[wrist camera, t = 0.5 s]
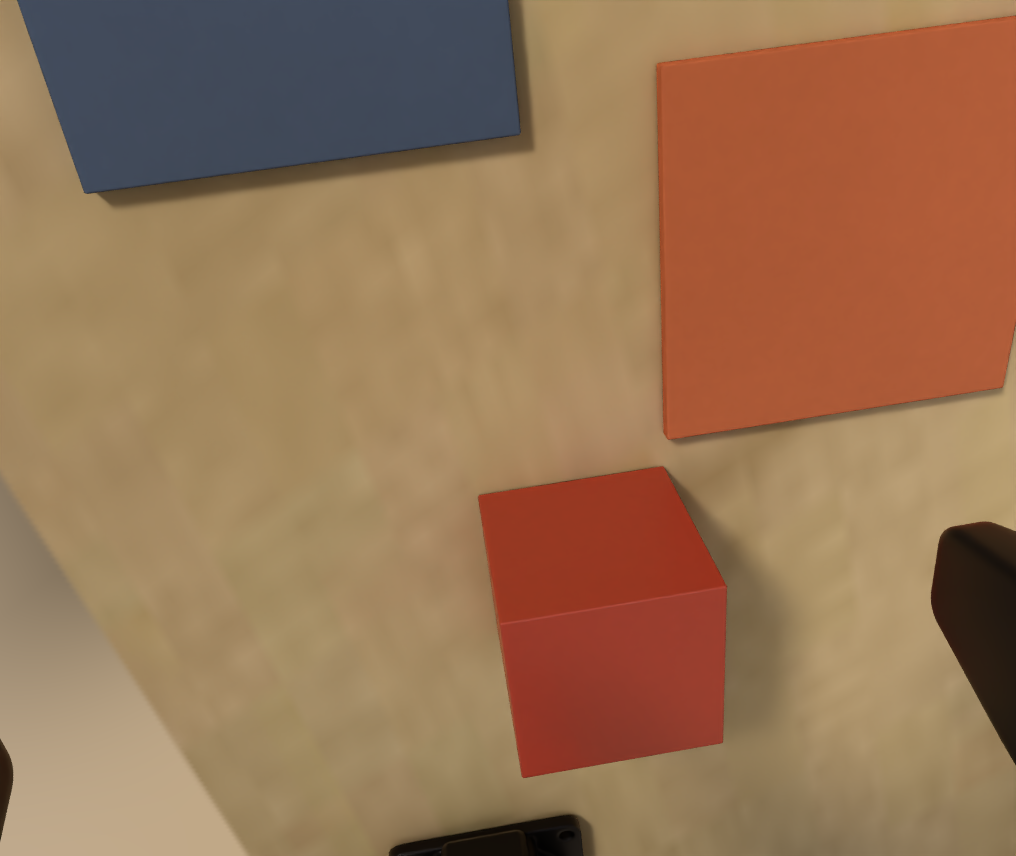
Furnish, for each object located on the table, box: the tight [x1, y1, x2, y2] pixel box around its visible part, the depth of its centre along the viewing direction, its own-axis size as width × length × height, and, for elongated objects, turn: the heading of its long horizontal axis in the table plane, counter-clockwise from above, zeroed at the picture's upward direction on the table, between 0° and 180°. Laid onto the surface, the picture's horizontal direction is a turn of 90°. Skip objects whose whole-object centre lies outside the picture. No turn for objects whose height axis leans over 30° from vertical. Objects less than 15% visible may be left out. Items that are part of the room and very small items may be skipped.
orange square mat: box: [657, 16, 1016, 440], centre depth 21 cm, size 9×9×1 cm
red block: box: [478, 466, 727, 778], centre depth 22 cm, size 5×5×5 cm
